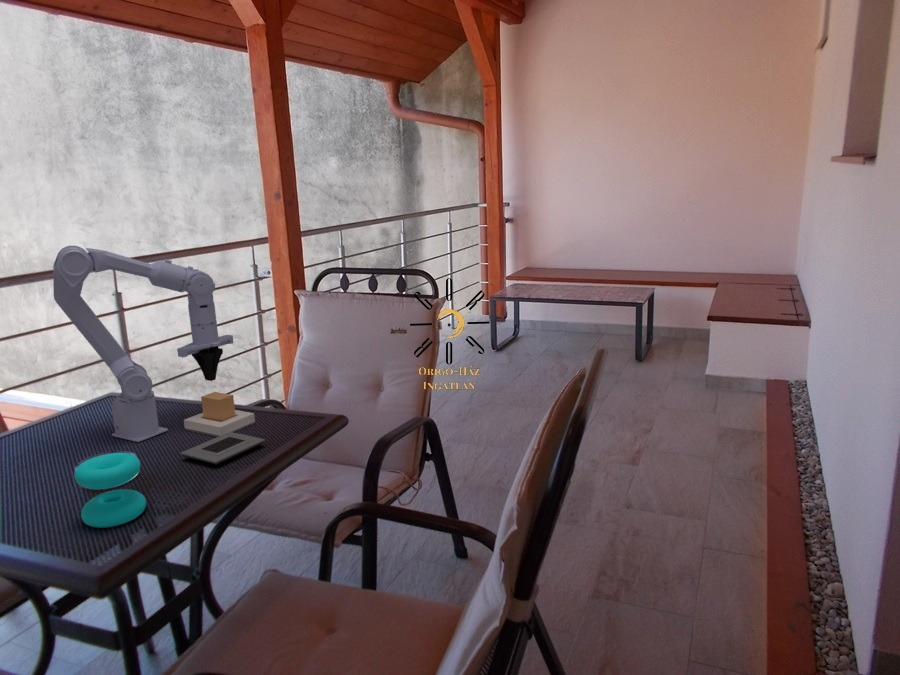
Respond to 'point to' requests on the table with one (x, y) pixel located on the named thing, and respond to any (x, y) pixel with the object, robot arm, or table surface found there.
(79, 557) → the table surface
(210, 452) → the electrical outlet
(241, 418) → the socket block
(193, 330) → the robot arm
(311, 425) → the table surface
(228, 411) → the plug
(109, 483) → the donuts
